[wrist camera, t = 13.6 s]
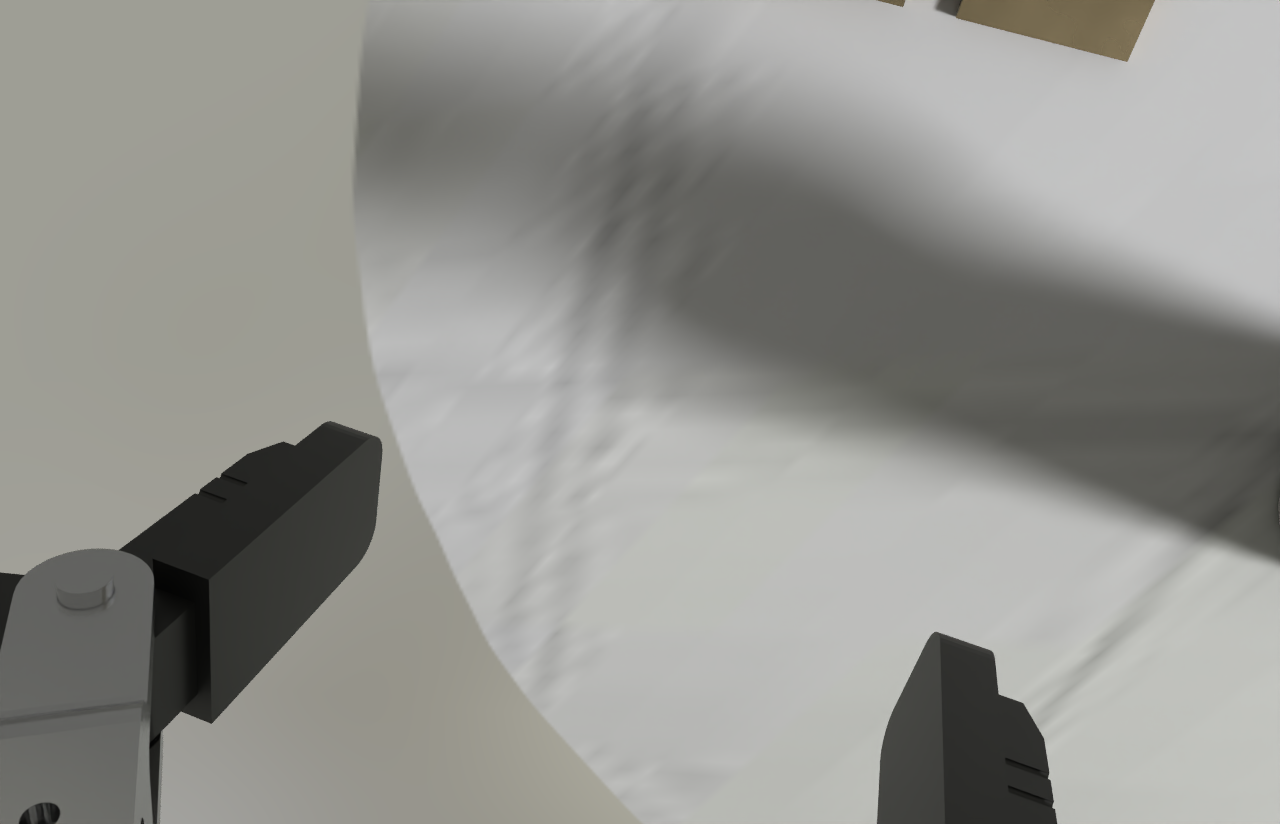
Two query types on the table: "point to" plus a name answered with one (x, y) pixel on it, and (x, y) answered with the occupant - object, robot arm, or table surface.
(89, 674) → the robot arm
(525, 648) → the table surface
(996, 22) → the hinge base
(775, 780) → the table surface
